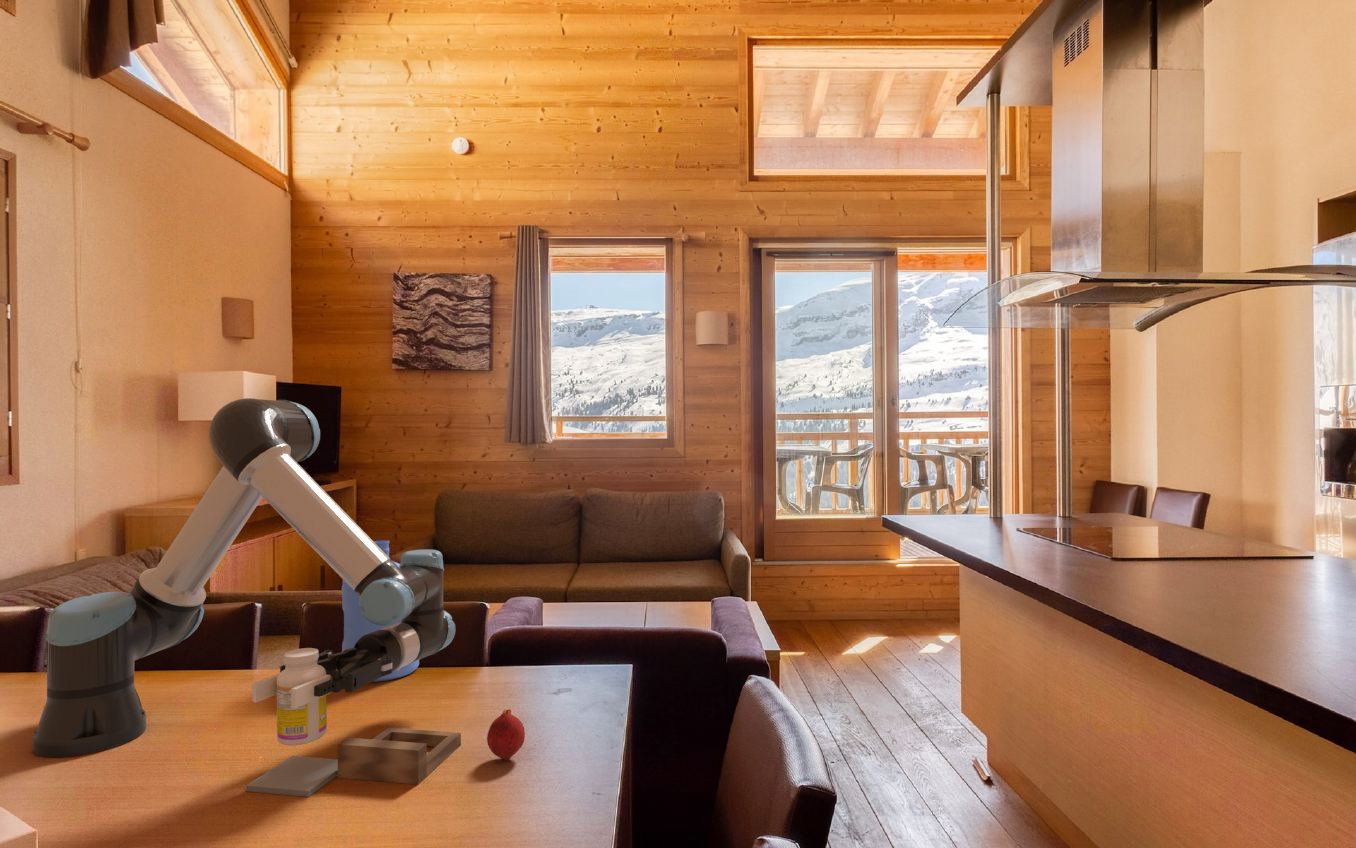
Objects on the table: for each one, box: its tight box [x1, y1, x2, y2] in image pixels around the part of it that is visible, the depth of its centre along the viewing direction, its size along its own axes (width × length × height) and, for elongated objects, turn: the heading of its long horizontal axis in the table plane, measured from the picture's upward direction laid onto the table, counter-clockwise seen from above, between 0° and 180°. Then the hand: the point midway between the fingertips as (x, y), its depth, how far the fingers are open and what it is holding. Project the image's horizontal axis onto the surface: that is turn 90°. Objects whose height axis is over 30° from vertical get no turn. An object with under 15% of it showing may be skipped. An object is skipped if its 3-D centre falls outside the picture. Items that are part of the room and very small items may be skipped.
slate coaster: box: [245, 755, 338, 798], centre depth 112 cm, size 10×10×1 cm
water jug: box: [341, 540, 420, 683], centre depth 162 cm, size 16×16×28 cm
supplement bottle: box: [276, 647, 328, 746], centre depth 112 cm, size 7×7×13 cm
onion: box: [486, 707, 526, 761], centre depth 118 cm, size 6×6×8 cm
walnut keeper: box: [337, 727, 462, 786], centre depth 118 cm, size 13×14×5 cm
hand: (273, 695), depth 107 cm, fingers closed on supplement bottle, 7 cm apart
